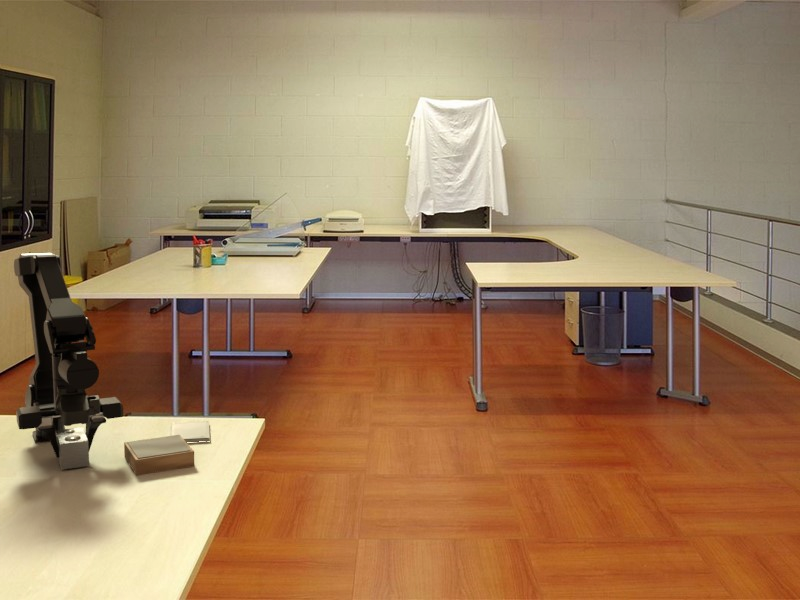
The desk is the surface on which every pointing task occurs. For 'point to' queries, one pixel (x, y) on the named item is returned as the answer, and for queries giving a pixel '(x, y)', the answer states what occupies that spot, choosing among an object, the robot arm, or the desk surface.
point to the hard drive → (191, 430)
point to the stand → (158, 454)
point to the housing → (72, 448)
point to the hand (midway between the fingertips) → (72, 454)
